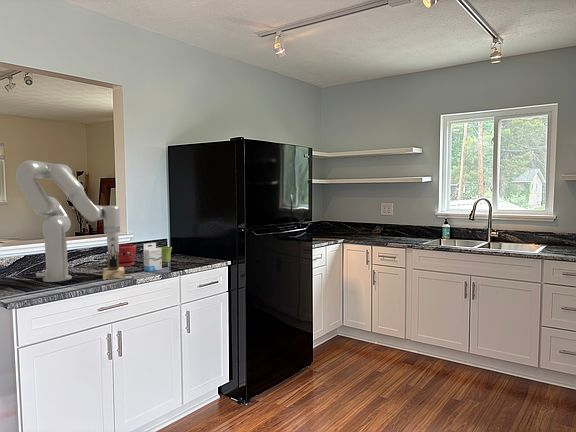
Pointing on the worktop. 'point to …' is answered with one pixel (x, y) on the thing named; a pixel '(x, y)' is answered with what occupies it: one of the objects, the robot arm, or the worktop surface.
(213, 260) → the worktop surface
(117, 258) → the walnut block
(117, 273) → the maple block
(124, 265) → the plant pot
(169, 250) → the plant pot
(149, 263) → the ink box
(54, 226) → the robot arm
